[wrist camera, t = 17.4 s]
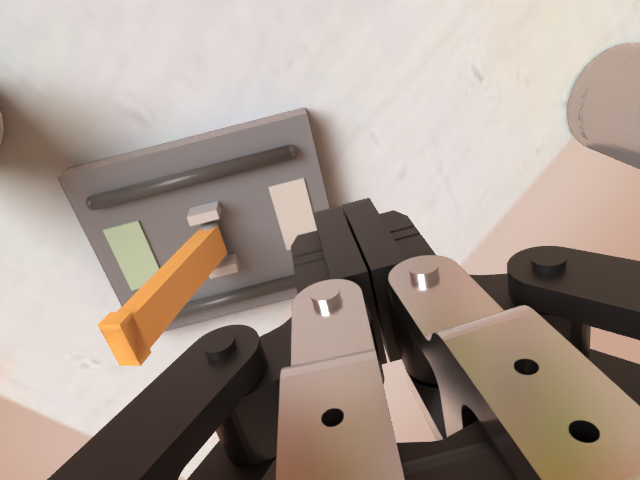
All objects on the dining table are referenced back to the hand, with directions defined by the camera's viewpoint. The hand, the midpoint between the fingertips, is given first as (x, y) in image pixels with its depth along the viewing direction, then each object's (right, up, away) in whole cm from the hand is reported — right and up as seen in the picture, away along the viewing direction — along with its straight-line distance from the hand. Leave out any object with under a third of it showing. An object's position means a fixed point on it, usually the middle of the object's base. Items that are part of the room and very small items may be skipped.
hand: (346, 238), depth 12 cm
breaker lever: (-9, 0, +27) cm, 29 cm away
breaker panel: (-10, +1, +30) cm, 32 cm away
